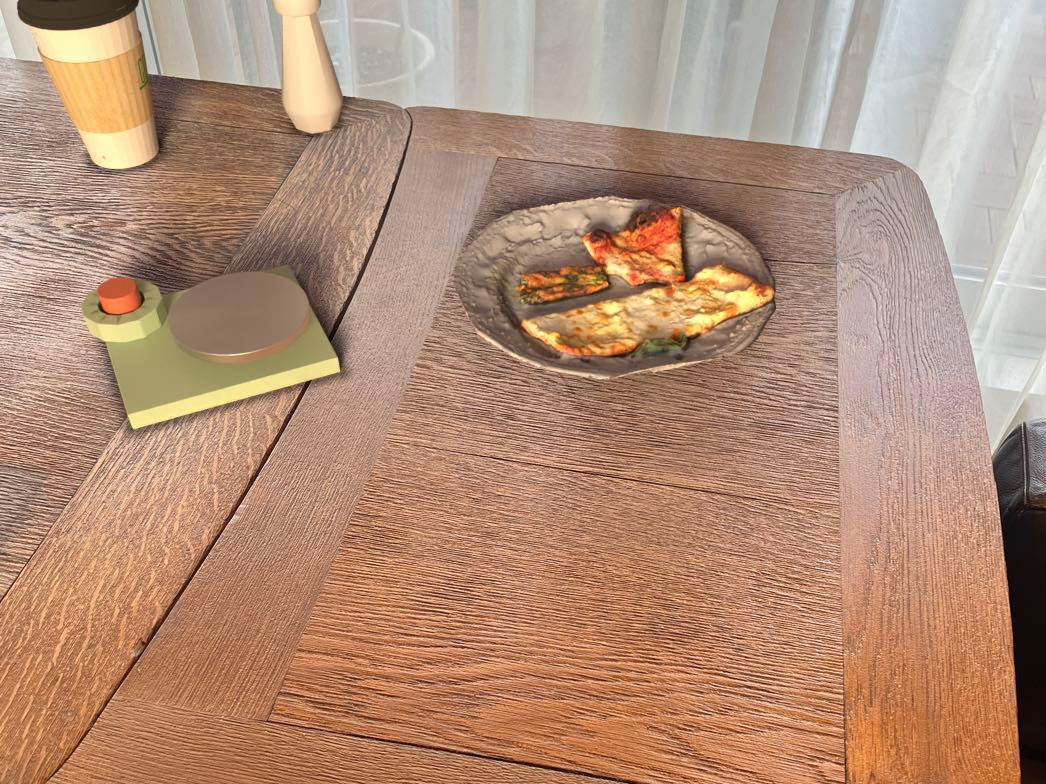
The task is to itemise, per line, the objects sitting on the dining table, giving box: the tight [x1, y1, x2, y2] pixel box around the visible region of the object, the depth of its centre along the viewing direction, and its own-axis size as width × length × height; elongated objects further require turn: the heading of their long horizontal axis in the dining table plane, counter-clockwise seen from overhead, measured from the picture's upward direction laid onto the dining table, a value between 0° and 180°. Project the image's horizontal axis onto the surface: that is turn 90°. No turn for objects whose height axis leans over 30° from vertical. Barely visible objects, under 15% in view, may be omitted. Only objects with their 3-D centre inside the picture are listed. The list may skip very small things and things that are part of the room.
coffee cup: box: [16, 0, 160, 170], centre depth 91 cm, size 10×10×15 cm
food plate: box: [453, 195, 777, 381], centre depth 80 cm, size 25×23×4 cm
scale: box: [80, 264, 341, 430], centre depth 77 cm, size 16×14×3 cm
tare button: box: [96, 276, 142, 316], centre depth 76 cm, size 3×3×2 cm
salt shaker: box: [271, 0, 344, 135], centre depth 96 cm, size 6×6×13 cm
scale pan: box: [168, 271, 311, 364], centre depth 75 cm, size 10×10×1 cm
